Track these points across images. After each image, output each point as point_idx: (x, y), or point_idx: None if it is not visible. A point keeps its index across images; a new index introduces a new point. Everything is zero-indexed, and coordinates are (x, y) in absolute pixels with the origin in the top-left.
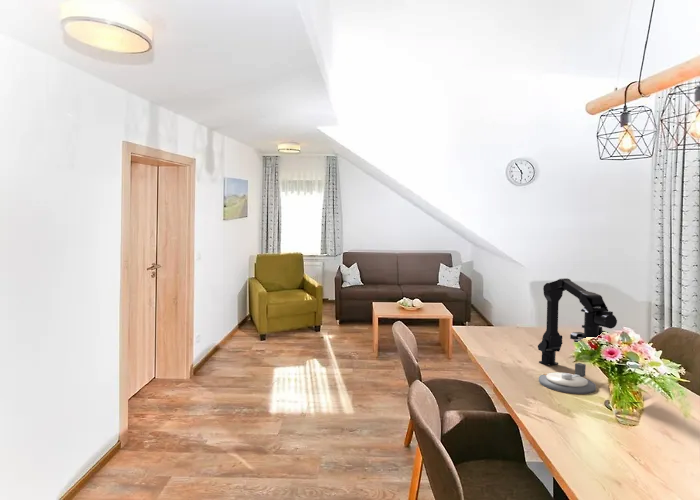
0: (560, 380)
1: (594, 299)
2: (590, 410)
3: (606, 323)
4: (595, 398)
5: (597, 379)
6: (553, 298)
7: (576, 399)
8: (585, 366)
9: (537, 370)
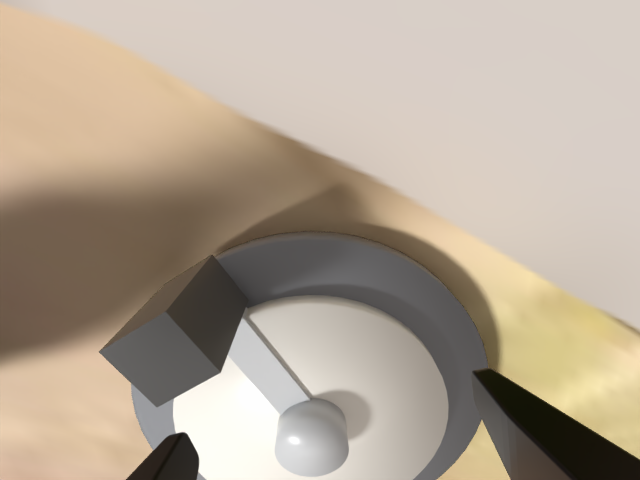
0: (361, 473)
1: None
2: None
3: None
4: (556, 338)
5: (149, 100)
6: None
7: None
8: (178, 300)
9: (28, 437)
